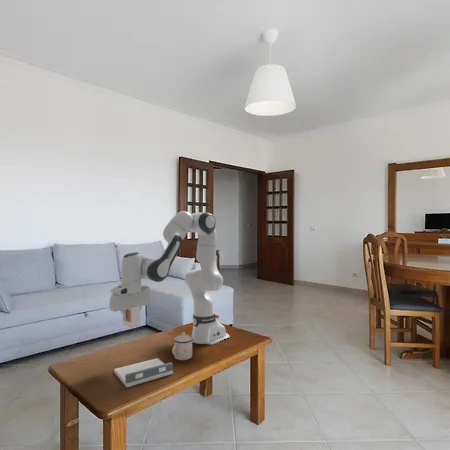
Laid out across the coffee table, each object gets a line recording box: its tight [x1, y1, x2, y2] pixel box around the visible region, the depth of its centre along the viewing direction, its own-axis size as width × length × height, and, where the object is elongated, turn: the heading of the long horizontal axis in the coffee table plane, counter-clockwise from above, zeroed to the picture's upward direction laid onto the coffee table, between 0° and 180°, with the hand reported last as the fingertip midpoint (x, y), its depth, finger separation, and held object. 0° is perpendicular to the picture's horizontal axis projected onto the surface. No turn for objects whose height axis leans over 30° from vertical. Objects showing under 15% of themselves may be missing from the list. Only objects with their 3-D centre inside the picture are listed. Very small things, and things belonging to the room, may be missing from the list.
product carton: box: [122, 306, 141, 329], centre depth 147 cm, size 7×5×9 cm
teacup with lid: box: [171, 331, 193, 361], centre depth 153 cm, size 12×9×12 cm
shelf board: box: [114, 357, 174, 388], centre depth 136 cm, size 20×16×4 cm
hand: (131, 317), depth 147 cm, fingers closed on product carton, 5 cm apart
